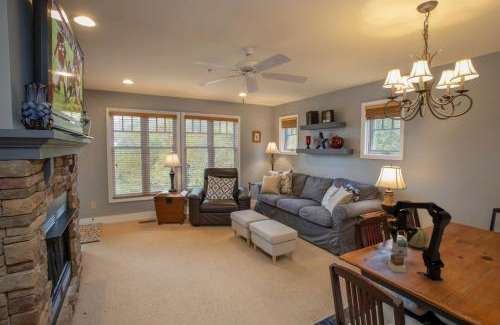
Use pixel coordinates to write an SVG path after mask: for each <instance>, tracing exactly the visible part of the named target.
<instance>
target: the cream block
mask: <svg viewBox="0 0 500 325" xmlns="http://www.w3.org/2000/svg"><path fill="white" fill-rule="evenodd" d="M390 261H391V260H388V261H387V267H388V269H390V271H392V272H393V273H400V274H401V273H403V274H405V273H406V272H407V266H406V265H405V264H404V265H401V266H396V265H394V264H393V263H391V262H390Z"/></svg>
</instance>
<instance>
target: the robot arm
mask: <svg viewBox="0 0 500 325" xmlns="http://www.w3.org/2000/svg"><path fill="white" fill-rule="evenodd" d="M410 209H415V210H417V209H418V210H419V209H420V210H426V211H427V213H428V215H429V216H430V217H431V219H432V221H431V222H432V224H433V228H432V232H431V236H430V238H429V242H428V247H427V248H423V249H422V254H421V256H422V257H421V258H422V261H423V264H424V267H425V268H426V273H424V276H426V277H427V278H428V279H430V280H432V281H443V280H444V278H443V277H442V276H441V275H442V269H444V268H445V263H444V262H443V260H442V259H441V252H440V246H441V243H442V239H443V235H444V232H445V229H446V227H448V225H449V224H450V223H451V221H452V215H451V214H450V213H449V212H448V211H447V210H445V208H442V207H441V206H439V205H437V204H436V203H435V202H434V201H432V202H431V201H429V202H427V201H426V202H425V201H424V202H423V201H422V202H421V201H420V202H418V201H417V202H415V201H410V200H405V199H403V200H397V201H396V203H395V205H389V207H388V208H387V210H386V214H387V215H388V216H390V217H393V218H396V219H395V221H394V220H388V225H389V226H388V227H386V229H385V232H387V233H388V234H390V236H391V238H392V239H393V241H394V243H396V240H397V235H399V234H398V232H399V233H400V232H405V233H407V242H408V244H409V241H410V240H411V239H412V237H413V236H414V235H415V234H416V233H418V229H417V228H415V227H416V226H412V225H411V226H409V223H410V222H409V221H408V215H411V212H410V211H409V210H410Z"/></svg>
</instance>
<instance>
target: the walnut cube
mask: <svg viewBox="0 0 500 325" xmlns="http://www.w3.org/2000/svg"><path fill="white" fill-rule="evenodd" d="M389 261H390V262H391V263H393V264H394V265H396V266H401V265H405V263H404V262H405V256H404V255H399V254H396V253H392V254H390V260H389Z"/></svg>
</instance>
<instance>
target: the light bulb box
mask: <svg viewBox="0 0 500 325" xmlns="http://www.w3.org/2000/svg"><path fill="white" fill-rule="evenodd" d="M391 243H392V244H391V247H392V248H391V249H392V250H393V251H394V254H399V255H401V256H408V244H409V243H408V242H407V239H406V237H404V235H402V234H401V235H400V234H398V235H397V240H396V243H394V241H393V238H392V241H391Z"/></svg>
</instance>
